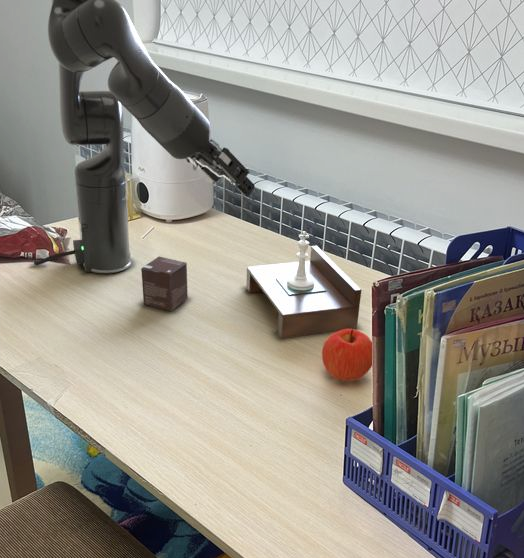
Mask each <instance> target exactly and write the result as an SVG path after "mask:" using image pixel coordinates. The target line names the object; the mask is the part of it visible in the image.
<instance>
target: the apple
mask: <svg viewBox="0 0 524 558" xmlns="http://www.w3.org/2000/svg"><path fill="white" fill-rule="evenodd" d="M372 343H373V342H372V339H370V337H369V336H368V335H367V334H366V333H364V332H361V331H360V330H358V329H343V330H340V331H334V332H333V333H332V334H330V335H329V336H328V337H327V339H326V340H325V341H324V343H323V345H322V350H321V358H322V363H323V367H324V368H325V370H326V371H327V373H328V374H329V375H330V376H332V377H334V378H336V379H338V380H339V381H340V380H341V381H354V380H355V381H356V380H359V379H361V378H362V377H364V376H365V375H366V374H367V373H368V372H370V369H371V368H372V367H373V365H372Z"/></svg>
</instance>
